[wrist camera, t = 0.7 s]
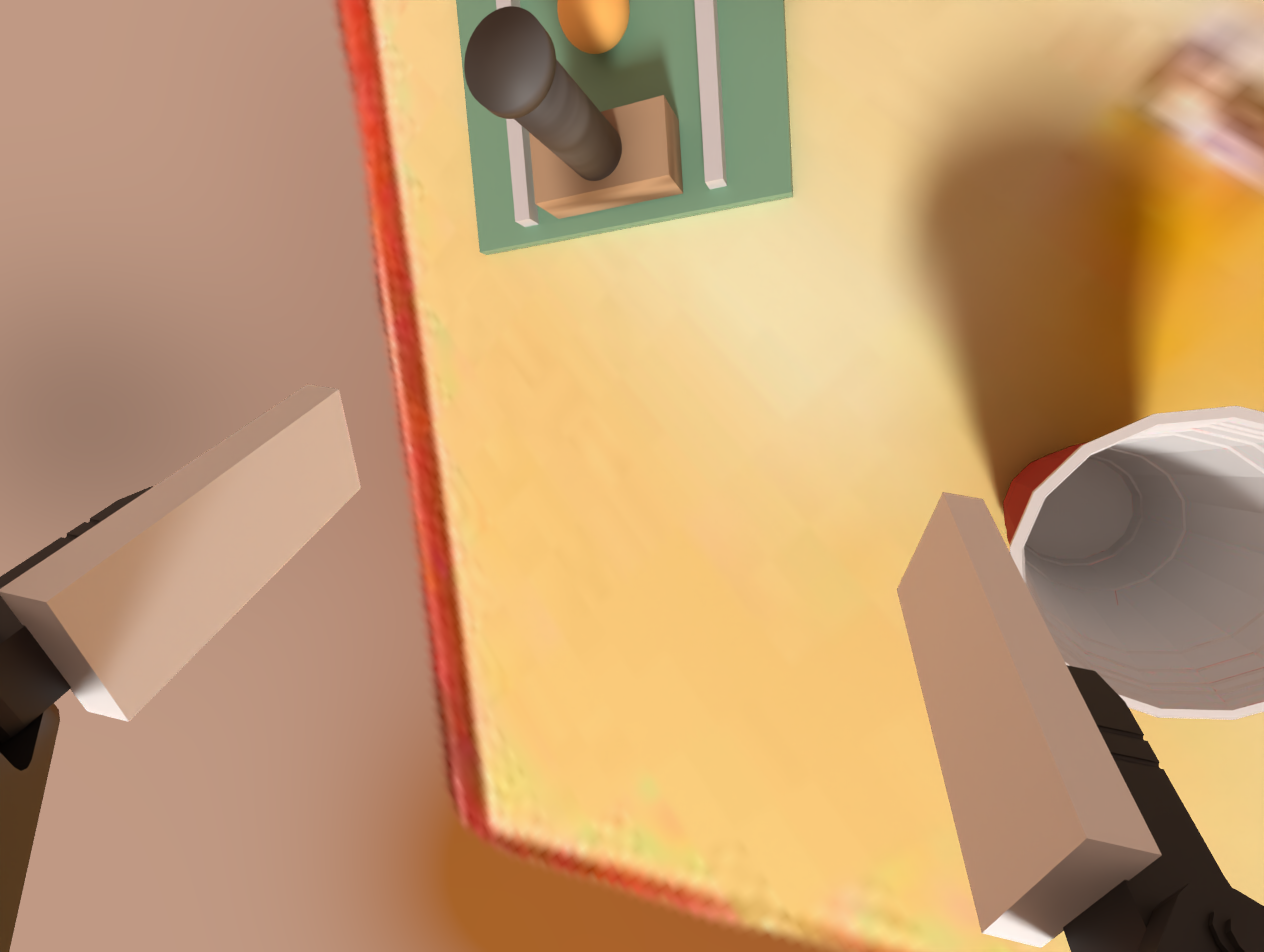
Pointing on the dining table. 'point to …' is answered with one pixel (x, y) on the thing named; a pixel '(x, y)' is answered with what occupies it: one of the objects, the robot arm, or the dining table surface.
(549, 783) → the dining table surface
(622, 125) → the rubber stamp
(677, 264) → the dining table surface
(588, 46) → the ball
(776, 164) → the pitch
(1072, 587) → the plastic cup
